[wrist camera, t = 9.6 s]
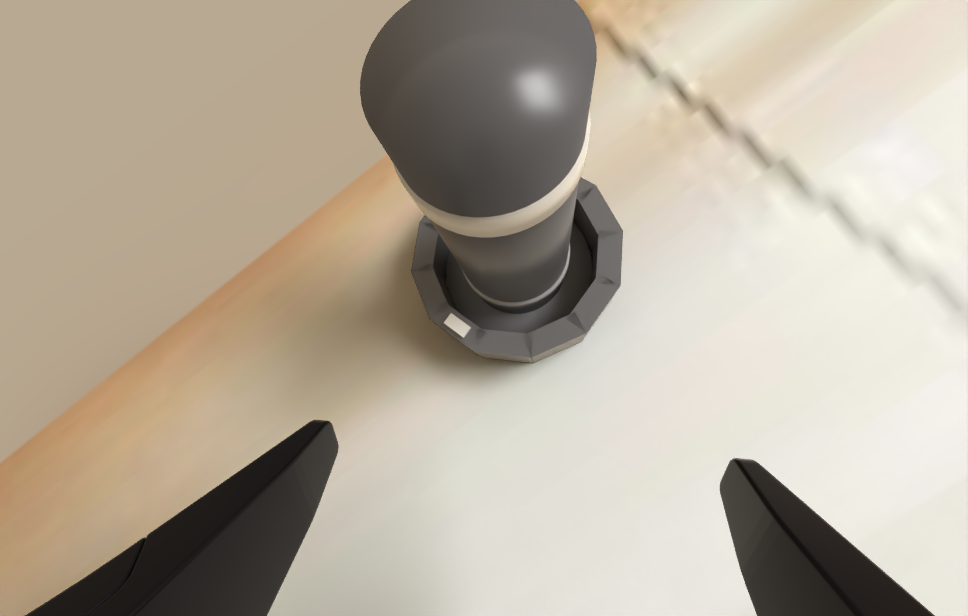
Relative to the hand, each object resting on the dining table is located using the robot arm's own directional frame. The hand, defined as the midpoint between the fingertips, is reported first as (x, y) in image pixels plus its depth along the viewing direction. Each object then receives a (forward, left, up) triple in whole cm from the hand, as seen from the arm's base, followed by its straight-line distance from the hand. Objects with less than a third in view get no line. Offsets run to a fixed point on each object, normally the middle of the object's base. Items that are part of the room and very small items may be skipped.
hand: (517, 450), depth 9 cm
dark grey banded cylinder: (+6, +5, -10) cm, 13 cm away
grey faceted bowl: (+6, +5, -11) cm, 13 cm away
